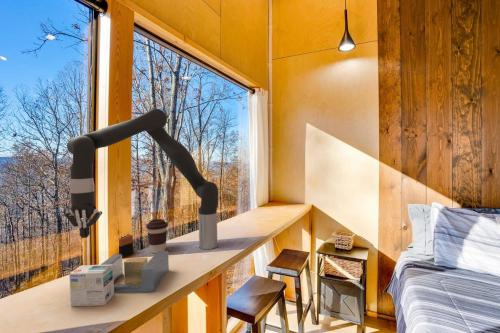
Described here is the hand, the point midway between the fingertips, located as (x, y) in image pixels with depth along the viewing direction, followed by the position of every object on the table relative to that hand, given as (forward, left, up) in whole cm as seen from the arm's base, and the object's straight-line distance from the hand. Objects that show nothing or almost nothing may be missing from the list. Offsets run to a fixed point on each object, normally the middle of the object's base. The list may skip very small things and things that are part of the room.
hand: (84, 237), depth 98 cm
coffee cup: (-31, +16, -17) cm, 39 cm away
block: (0, +19, -17) cm, 25 cm away
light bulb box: (+13, +10, -17) cm, 24 cm away
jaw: (0, +8, -17) cm, 18 cm away
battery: (-26, +2, -17) cm, 31 cm away
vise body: (0, +15, -17) cm, 23 cm away
